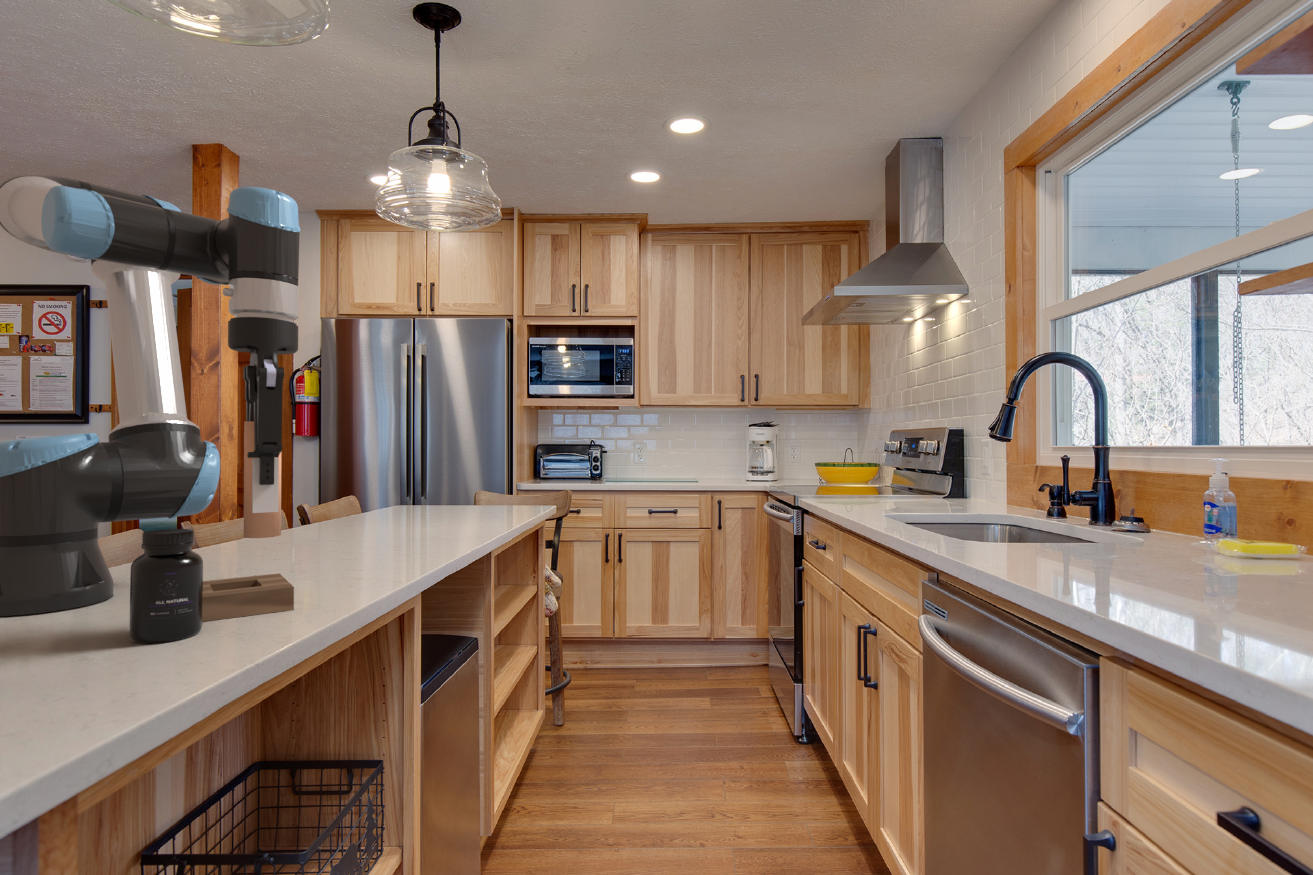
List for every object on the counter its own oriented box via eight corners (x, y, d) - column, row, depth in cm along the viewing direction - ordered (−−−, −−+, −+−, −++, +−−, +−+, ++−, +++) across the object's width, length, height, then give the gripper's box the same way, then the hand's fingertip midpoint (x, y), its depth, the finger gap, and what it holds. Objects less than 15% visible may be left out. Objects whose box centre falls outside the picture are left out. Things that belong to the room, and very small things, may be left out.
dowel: (241, 534, 86) (242, 421, 86) (278, 532, 89) (279, 422, 89) (245, 539, 83) (246, 421, 83) (283, 536, 85) (284, 421, 85)
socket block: (179, 605, 95) (179, 583, 95) (279, 593, 102) (279, 573, 102) (183, 624, 85) (183, 599, 85) (293, 609, 92) (293, 586, 92)
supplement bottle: (165, 646, 76) (165, 535, 76) (113, 643, 77) (113, 534, 77) (217, 629, 82) (217, 527, 82) (168, 626, 84) (168, 526, 84)
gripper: (221, 324, 90) (220, 505, 91) (235, 306, 77) (234, 519, 77) (286, 330, 95) (285, 502, 95) (310, 313, 81) (309, 515, 81)
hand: (262, 509), depth 86 cm, fingers closed on dowel, 4 cm apart
